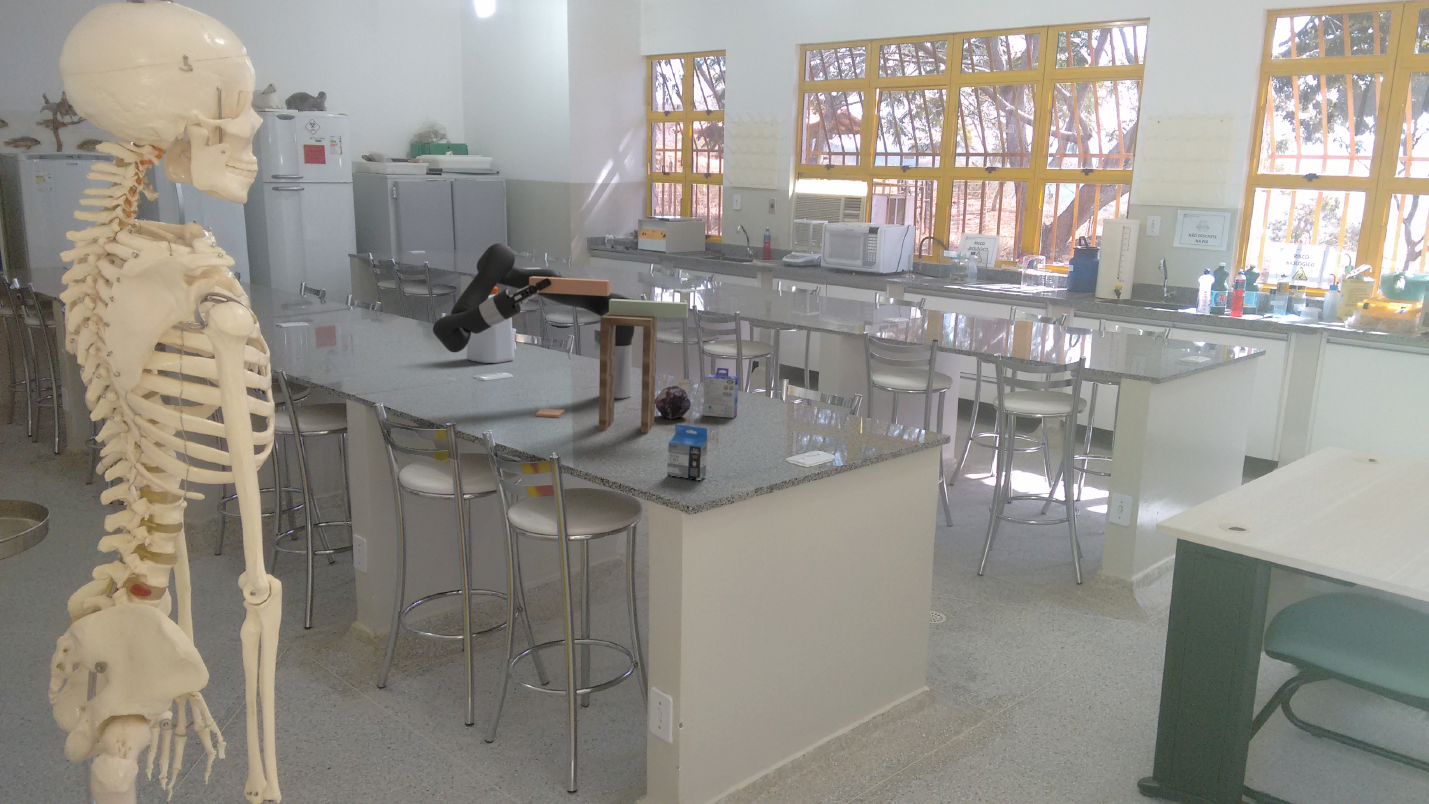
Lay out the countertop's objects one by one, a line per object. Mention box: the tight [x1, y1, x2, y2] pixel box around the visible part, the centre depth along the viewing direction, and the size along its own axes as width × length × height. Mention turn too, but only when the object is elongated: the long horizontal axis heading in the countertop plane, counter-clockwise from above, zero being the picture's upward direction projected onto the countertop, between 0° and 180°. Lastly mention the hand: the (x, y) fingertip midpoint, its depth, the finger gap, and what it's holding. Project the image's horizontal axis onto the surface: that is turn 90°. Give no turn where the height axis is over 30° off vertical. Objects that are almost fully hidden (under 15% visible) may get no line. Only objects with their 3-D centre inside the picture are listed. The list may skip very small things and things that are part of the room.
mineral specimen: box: [655, 385, 692, 420], centre depth 311 cm, size 10×10×10 cm
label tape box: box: [666, 423, 709, 481], centre depth 248 cm, size 9×4×12 cm, turn 66°
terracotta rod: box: [529, 276, 611, 296], centre depth 288 cm, size 4×22×4 cm, turn 85°
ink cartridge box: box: [702, 367, 739, 419], centre depth 315 cm, size 10×6×14 cm, turn 78°
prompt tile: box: [535, 408, 565, 418], centre depth 309 cm, size 7×7×1 cm
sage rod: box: [609, 299, 689, 319], centre depth 293 cm, size 4×22×4 cm, turn 85°
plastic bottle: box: [466, 286, 515, 364], centre depth 394 cm, size 15×15×28 cm
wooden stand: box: [598, 312, 658, 434], centre depth 294 cm, size 12×14×32 cm
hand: (551, 280), depth 288 cm, fingers closed on terracotta rod, 4 cm apart
